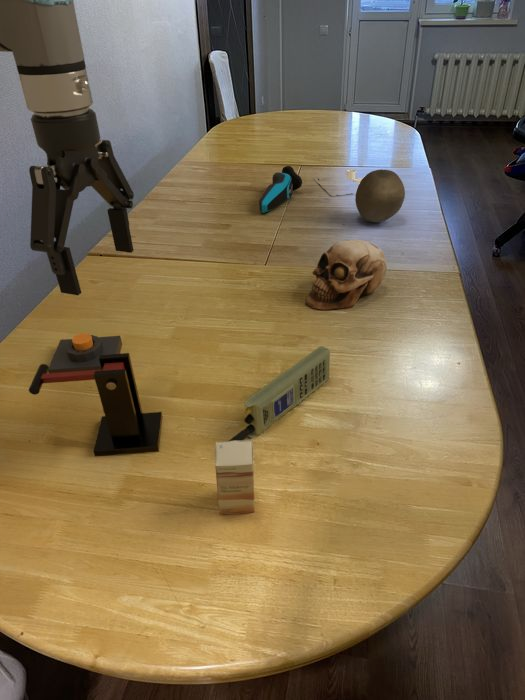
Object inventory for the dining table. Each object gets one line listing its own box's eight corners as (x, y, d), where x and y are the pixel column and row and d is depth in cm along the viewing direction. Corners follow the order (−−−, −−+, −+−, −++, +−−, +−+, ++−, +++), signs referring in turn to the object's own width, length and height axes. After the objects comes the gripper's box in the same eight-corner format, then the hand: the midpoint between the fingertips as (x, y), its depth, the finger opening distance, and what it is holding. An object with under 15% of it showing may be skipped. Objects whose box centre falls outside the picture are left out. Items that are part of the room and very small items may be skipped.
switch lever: (31, 397, 75) (26, 384, 73) (41, 374, 79) (37, 361, 78) (122, 390, 75) (119, 377, 74) (127, 367, 80) (124, 355, 78)
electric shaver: (280, 187, 182) (306, 191, 179) (245, 218, 166) (273, 223, 162) (279, 162, 177) (306, 166, 173) (243, 193, 160) (272, 197, 156)
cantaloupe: (348, 227, 152) (352, 176, 143) (359, 211, 162) (363, 162, 154) (397, 233, 147) (404, 180, 139) (404, 215, 158) (411, 165, 149)
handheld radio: (332, 380, 94) (235, 458, 80) (318, 373, 96) (221, 448, 82) (333, 350, 91) (231, 425, 76) (318, 344, 93) (216, 416, 78)
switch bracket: (94, 456, 81) (71, 383, 72) (103, 421, 87) (82, 350, 79) (158, 451, 81) (143, 378, 73) (162, 416, 88) (148, 345, 79)
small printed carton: (219, 515, 71) (212, 466, 65) (219, 490, 75) (213, 441, 69) (256, 513, 71) (253, 463, 65) (255, 488, 75) (252, 438, 69)
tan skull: (300, 306, 116) (305, 248, 109) (323, 279, 130) (329, 227, 123) (369, 321, 111) (379, 262, 104) (385, 291, 125) (395, 238, 118)
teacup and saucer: (366, 185, 182) (367, 173, 180) (344, 187, 181) (345, 175, 179) (357, 177, 189) (358, 166, 187) (336, 179, 188) (337, 168, 186)
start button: (72, 352, 98) (70, 344, 97) (76, 341, 101) (74, 333, 100) (91, 350, 98) (89, 343, 97) (95, 340, 101) (93, 332, 100)
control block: (50, 379, 97) (44, 362, 95) (63, 348, 106) (58, 332, 103) (114, 374, 98) (110, 357, 96) (122, 344, 106) (118, 328, 104)
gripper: (16, 137, 51) (69, 318, 64) (141, 92, 70) (163, 238, 83) (-43, 134, 53) (19, 309, 66) (94, 91, 72) (122, 234, 85)
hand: (99, 270), depth 74 cm, fingers open, 13 cm apart
